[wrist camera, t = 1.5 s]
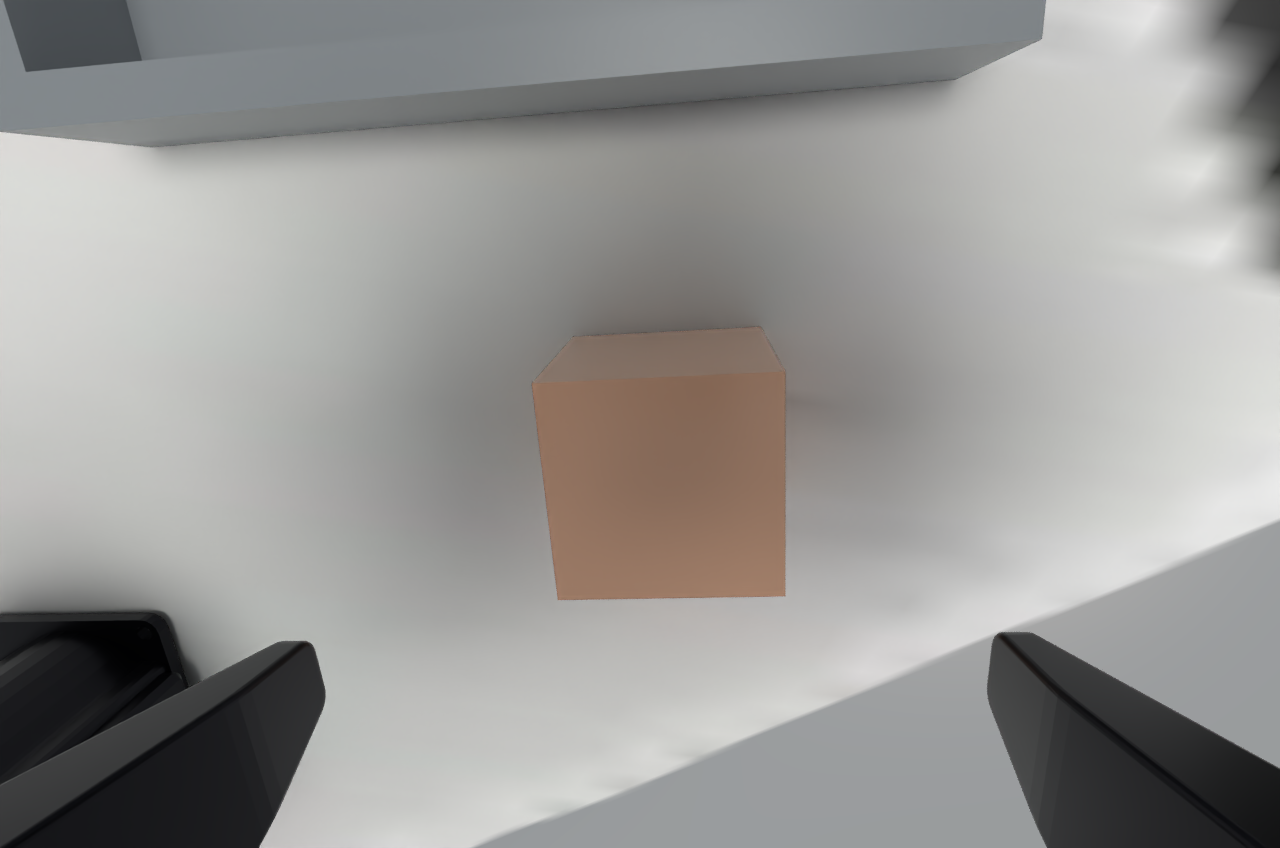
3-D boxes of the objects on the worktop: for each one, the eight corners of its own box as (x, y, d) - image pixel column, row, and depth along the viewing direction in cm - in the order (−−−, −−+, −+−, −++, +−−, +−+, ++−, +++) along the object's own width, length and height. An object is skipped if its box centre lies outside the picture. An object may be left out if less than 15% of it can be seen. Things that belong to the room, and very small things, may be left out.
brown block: (590, 504, 20) (557, 599, 15) (573, 336, 18) (532, 383, 13) (762, 498, 19) (785, 596, 14) (760, 326, 18) (785, 371, 13)
